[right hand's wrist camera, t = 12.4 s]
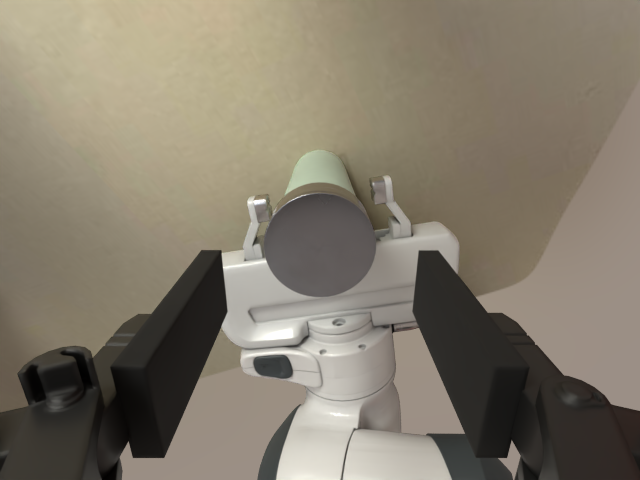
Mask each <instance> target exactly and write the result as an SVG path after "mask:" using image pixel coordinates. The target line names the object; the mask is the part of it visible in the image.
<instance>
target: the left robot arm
mask: <svg viewBox="0 0 640 480" xmlns="http://www.w3.org/2000/svg"><path fill="white" fill-rule="evenodd" d="M370 186H371V188H372V189H371V198H372V201H373V202H374V204H383V203H385V204H386V205H387V207H388V208H389V209H390V210H391V212H392V213H393V214H394V216H395V217H394V216H389V217H388V225H389V228H386V229H380V230H374V232H375V237H376V254H375V258H374V261H373V264H372V266H371V268H370V270H369V272H368V273H367V274H366V276H365V277H364V278H363V279H362V280H361V281H360V282H359V283H358V284H357V285H355V286H354V287H353V288H351V289H349V290H348V291H346V292H343V293H341V294H338V295H335V296H330V297H311V296H306V295H302V294H299V293H297V292H294V291H292V290H291V289H289V288H287V287H286V286H285V285H283V284H282V283H281V282H280V281H279V280H278V279H277V278H276V277H275V276H274V274H273V273H272V271H271V270H270V268H269V266H268V264H267V261H266V258H265V253H264V236H258V237H257V233H258V230H259V227H260V224H261V222H265V221H270V219H271V216H272V214H273V212H272V207H271V205H269V202H270V198H269V195H268V194H265V195H258V196H251V197H249V199H248V200H247V205H248V210H249V214H250V218H251V223H250V226H249V229H248V232H247V235H246V238H245V241H244V244H243V250H238V251H232V252H225V253H222V262H223V271H224V281H225V290H226V300H227V310H228V312H227V315H226V317H225V319H224V322H223V324H222V326H221V327H222V329H223V331H224V333H225V334H226V336H227V337H228V338H229V340H231V341H232V342H233V343H234V344H235V345H237V346H239V347H242V350H241V359H240V362H241V367H242V369H243V371H244V372H245V373H246V374H248V375H250V376H255V377H263V378H271V379H278V380H283V381H289V382H293V383H297V384H301V385H304V386H305V388H306V400H305V403H304V404H303V405H299V406H297V407H296V408H295V409H294V410H293V411H292V412H291V414H290V415H289V416H288V417H287V418H286V420H285V421H284V422H283V424H282V425H281V426H280V427H279V429H278V430H277V431H276V433H275V434H274V436H273V437H272V439H271V441H270V442H269V444H268V446H267V449H266V451H265V454H264V456H263V459H262V462H261V465H260V469H259V474H258V480H513V478H512V473H511V472H510V471H509V470H508V469H507V467H506V466H505V465H504V464H503V463H502V462H501V461H500V460H499V459H498V458H476V457H475V455H474V453H473V450H472V448H471V446H470V443H469V441H468V439H467V436H466V434H426V435H417V434H407V433H401V413H400V401H399V396H398V392H397V389H396V387H395V385H394V383H393V380H394V376H395V370H396V363H395V353H394V344H393V335H392V333H393V332H399V331H405V330H412V329H416V328H419V326H418V324H417V322H416V319H415V317H414V315H413V312H412V310H413V300H414V290H415V281H416V271H417V262H418V252H419V250H439V252H440V253H441V254H442V256H443V257H444V258H445V259H446V261H447V262H448V263H449V264H450V266H451V267H452V268H453V270H454V271H455V272H456V273H457V275H458V269H459V253H460V247H459V242H458V240H457V238H456V236H455V235H454V234H453V233H452V232H451V231H450V230H449V229H448V228H447V227H445V226H444V225H443V224H441V223H440V222H437V221H434V222H427V223H420V224H413V225H411V222H410V221H409V219H408V218H407V216H406V215H405V214H404V212H403V211H402V210H401V208H400V207H399V206H398V204H397V203H396V202H395V200H394V198H393V187H392V180H391V177H390V176H389V175H385V176H379V177H373V178H370Z"/></svg>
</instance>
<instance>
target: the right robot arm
mask: <svg viewBox="0 0 640 480" xmlns="http://www.w3.org/2000/svg"><path fill="white" fill-rule="evenodd" d="M227 312H228V310H227V300H226V290H225V281H224V271H223V262H222V252H221V250H201V252H200V253H199V254H198V256H197V257H196V258H195V259H194V261H193V262H192V263H191V264H190V266H189V267H188V268H187V270H186V271H185V272H184V273H183V275H182V276H181V277H180V278H179V280H178V281H177V282H176V283H175V285H174V286H173V287H172V289H171V290H170V291H169V292H168V294H167V295H166V296H165V297H164V299H163V300H162V301H161V303H160V304H159V305H158V306H157V308H156V309H155V310H154V311H153V313H152V314H138V315H136V316H135V317H133V318H131V319H130V320H128V321H127V322H125V323H123V325H122V326H121V327H120V328H119V329H118V330H117V331H116V333H115V334H114V336H113V337H111V338H110V339H109V340H108V342H107V343H106V345H105V346H103V347H102V348H101V350H100V351H99V352H98V353H97V354H96V355H95V356H94V358H92V354H91V351H90V350H88V349H87V348H85V347H80V346H70V347H62V348H58V349H55V350H52V351H48V352H46V353H44V354H42V355H40V356H38V357H36V358H34V359H33V360H31V361H30V362H29V363H27V364H26V365H24V366H23V368H22V369H21V370H20V371H19V373H18V377H19V380H20V382H21V385H22V388H23V390H24V393H25V396H26V399H27V401H28V404H29V406H27V407H24V408H19V409H15V410H10V411H6V412H1V413H0V480H122V466H121V461H120V455H121V453H122V452H123V450H124V448H125V446H126V445H127V443H128V441H129V444H130V448H131V452H132V456H133V458H164V457H165V455H166V453H167V450H168V448H169V446H170V443H171V441H172V439H173V436H174V434H175V432H176V430H177V427H178V425H179V423H180V420H181V418H182V416H183V413H184V411H185V409H186V407H187V404H188V402H189V400H190V397H191V395H192V393H193V390H194V388H195V386H196V384H197V381H198V379H199V377H200V374H201V372H202V370H203V367H204V365H205V363H206V361H207V358H208V356H209V354H210V351H211V349H212V347H213V345H214V342H215V340H216V338H217V335H218V333H219V331H220V328H221V326H222V324H223V322H224V319H225V317H226V315H227ZM412 312H413V315H414V317H415V319H416V322H417V324H418V326H419V328H420V331H421V333H422V335H423V338H424V340H425V342H426V345H427V347H428V349H429V351H430V354H431V356H432V358H433V361H434V363H435V365H436V367H437V370H438V372H439V374H440V377H441V379H442V381H443V383H444V386H445V388H446V390H447V393H448V395H449V397H450V400H451V402H452V404H453V407H454V409H455V411H456V413H457V416H458V418H459V420H460V423H461V425H462V427H463V430H464V432H465V434H466V436H467V439H468V441H469V443H470V446H471V448H472V450H473V453H474V455H475V457H476V458H507V456H508V452H509V448H510V444H511V440H512V441H513V443H514V444H515V446H516V448H517V450H518V452H519V453H520V455H521V457H520V461H519V465H518V469H517V472H516V476H515V480H640V411H637V410H632V409H628V408H624V407H619V406H615V405H611V404H610V402H609V401H608V399H607V398H606V397H605V395H603V394H602V393H601V392H600V391H598V390H597V389H596V388H595V387H593V386H591V385H589V384H587V383H586V382H584V381H582V380H579V379H576V378H573V377H570V376H564V375H563V374H562V373H561V372H560V371H559V369H558V368H557V367H556V366H555V365H554V364H553V363H552V362H551V360H550V359H549V358H548V357H547V356H546V355H545V354H544V352H543V351H542V350H541V349H540V348H539V347H538V346H537V345H535V342H534V341H533V340H532V339H531V338H530V337H529V336H527V333H526V332H525V331H524V330H523V329H522V328H521V326H520V325H519V324H518V323H517V322H516V321H514V320H512V319H511V318H509V317H508V316H506V315H504V314H503V313H487V311H486V310H485V309H484V308H483V306H482V305H481V304H480V303H479V301H478V300H477V299H476V297H475V296H474V295H473V294H472V292H471V291H470V290H469V289H468V287H467V286H466V285H465V283H464V282H463V281H462V280H461V278H460V277H459V276H458V275H457V273H456V272H455V271H454V270H453V268H452V267H451V266H450V264H449V263H448V262H447V261H446V259H445V258H444V257H443V256H442V254H441V253H440V252H439V250H419V252H418V262H417V271H416V281H415V290H414V300H413V310H412Z"/></svg>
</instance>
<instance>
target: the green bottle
mask: <svg viewBox="0 0 640 480" xmlns="http://www.w3.org/2000/svg"><path fill="white" fill-rule="evenodd" d="M316 182H325V183H331V184H335V185H338V186H341V187H343V188H345V189H347V190H348V191H350V192H351V193H352V194H354V195H355V193H354V190H353V187H352V185H351V182H350V179H349V177H348V174H347V171H346V169H345V166H344V164H343V162H342V161H341V159H340V158H339V157H338V156H337V155H335V154H334V153H332V152H329V151H326V150H314V151H311V152H308V153H306V154H305V155H303V156H302V157H301V158H300V159H299V161H298V162H297V164H296V166H295V168H294V171H293V174H292V177H291V179H290V182H289V185H288V187H287V190H286V193H285V195H286V194H288V193H289V192H290V191H292V190H293V189H295V188H297V187H299V186H302V185H305V184H309V183H316ZM285 195H284V196H285ZM355 196H356V195H355Z"/></svg>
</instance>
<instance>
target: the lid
mask: <svg viewBox="0 0 640 480" xmlns="http://www.w3.org/2000/svg"><path fill="white" fill-rule="evenodd" d="M264 253H265V258H266V261H267V264H268V266H269V268H270V270H271V271H272V273H273V274H274V276H275V277H276V278H277V279H278V280H279V281H280V282H281V283H282V284H283V285H285V286H286V287H287V288H289V289H291V290H292V291H294V292H297V293H299V294H302V295H306V296H311V297H330V296H335V295H338V294H341V293H343V292H346V291H348V290H349V289H351V288H353V287H354V286H355V285H357V284H358V283H359V282H360V281H361V280H362V279H363V278H364V277H365V276H366V274H367V273H368V272H369V270H370V268H371V266H372V264H373V261H374V258H375V254H376V237H375V232H374V229H373V226H372V224H371V221H370V219H369V216H368V214H367V212H366V210H365V208H364V206H363V204H362V203H361V202H360V200H359V199H358V198H357V197H356V196H355V195H354V194H352V193H351V192H350V191H348V190H347V189H345V188H343V187H341V186H338V185H335V184H331V183H325V182H316V183H309V184H305V185H302V186H299V187H297V188H295V189H293V190H292V191H290V192H289V193H288V194H286V195H285V196H284V197H283V198H282V199H281V200H280V202H279V203H278V204H277V206H276V208H275V210H274V212H273V214H272V217H271V219H270V221H269V224H268V226H267V229H266V232H265V236H264Z"/></svg>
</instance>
